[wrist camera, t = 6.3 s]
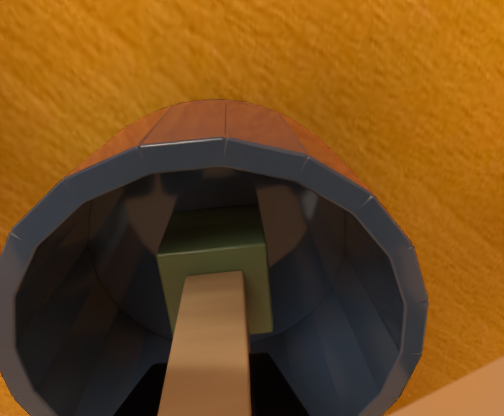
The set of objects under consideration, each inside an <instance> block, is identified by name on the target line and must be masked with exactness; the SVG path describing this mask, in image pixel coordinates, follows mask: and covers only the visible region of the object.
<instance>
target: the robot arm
mask: <svg viewBox="0 0 504 416" xmlns="http://www.w3.org/2000/svg"><path fill="white" fill-rule="evenodd" d="M249 363H250V382H251V407H252V413H253V416H310V415H309V413H308V412H307V410H306V409H305V407H304V406H303V404H302V403H301V401H300V400H299V398H298V397H297V395H296V394H295V392H294V391H293V389H292V388H291V386H290V385H289V383H288V382H287V380H286V379H285V377H284V375H283V374H282V372H281V371H280V369H279V368H278V366H277V365H276V363H275V362H274V360H273V359H272V357H271V356H270V354H269V353H268V352H266V351H262V352H253V353H250V354H249ZM167 365H168V362H162V363H155V364H153V365H152V366H151V367H150V368H149V369H148V371H147V372H146V373H145V374H144V376H143V377H142V378H141V380H140V381H139V382H138V384H137V385H136V386H135V387H134V389H133V390H132V391H131V393H130V394H129V395H128V397H127V398H126V399H125V400H124V402H123V403H122V404H121V406H120V407H119V408H118V410H117V411H116V412H115V413H114V415H113V416H157V415H158V410H159V405H160V400H161V395H162V390H163V385H164V380H165V375H166V370H167Z"/></svg>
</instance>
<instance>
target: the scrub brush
mask: <svg viewBox="0 0 504 416" xmlns="http://www.w3.org/2000/svg"><path fill="white" fill-rule="evenodd" d="M156 260H157V264H158V269H159V274H160V279H161V284H162V288H163V293H164V298H165V303H166V308H167V313H168V317H169V322H170V327H171V332H172V337H173V341H172V346H171V351H170V355H169V360H168V365H167V370H166V375H165V380H164V385H163V390H162V395H161V400H160V405H159V410H158V415H157V416H253V413H252V407H251V382H250V363H249V354H250V353H251V345H250V335H252V334H261V333H271V332H273V329H274V326H273V313H272V301H271V289H270V277H269V265H268V252H267V243H266V238H265V233H264V228H263V222H262V217H261V212H260V207H259V205H247V206H237V207H227V208H217V209H207V210H198V211H188V212H178V213H172V214H171V217H170V219H169V222H168V225H167V227H166V230H165V233H164V235H163V238H162V241H161V243H160V246H159V249H158V251H157V254H156Z"/></svg>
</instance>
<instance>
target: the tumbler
mask: <svg viewBox="0 0 504 416" xmlns="http://www.w3.org/2000/svg"><path fill="white" fill-rule="evenodd" d="M247 205H259V207H260V212H261V217H262V222H263V228H264V233H265V238H266V243H267V252H268V265H269V277H270V289H271V301H272V313H273V326H274V329H273V332H271V333H261V334H252V335H250V345H251V353H253V352H262V351H266V352H268V353H269V354H270V356H271V357H272V359H273V360H274V362H275V363H276V365H277V366H278V368H279V369H280V371H281V372H282V374H283V375H284V377H285V379H286V380H287V382H288V383H289V385H290V386H291V388H292V389H293V391H294V392H295V394H296V395H297V397H298V398H299V400H300V401H301V403H302V404H303V406H304V407H305V409H306V410H307V412H308V413H309V415H310V416H382V415H383V414H384V413H385V412H386V411H387V410H388V409H389V408H390V407H391V406H392V405H393V404H394V403H395V402H396V401H397V398H399V397H400V395H401V393H402V392H403V390H404V388H405V386H406V384H407V382H408V380H409V378H410V376H411V374H412V373H413V371H414V369H415V367H416V365H417V363H418V361H419V359H420V357H421V355H422V351H423V344H424V336H425V328H426V320H427V313H428V305H429V302H428V294H427V291H426V287H425V284H424V280H423V277H422V273H421V269H420V266H419V262H418V259H417V255H416V251H415V248H414V246H413V245H412V242H411V240H410V239H409V238H408V237H407V235H406V234H405V233H404V231H403V230H402V229H401V228H400V226H399V225H398V224H397V223H396V221H395V220H394V219H393V218H392V216H391V215H390V214H389V213H388V211H387V210H386V209H385V207H384V206H383V205H382V204H381V202H380V201H379V200H378V199H377V197H376V196H375V195H374V194H373V193H372V192H371V191H370V190H369V189H368V188H367V187H366V185H365V184H364V183H363V182H362V181H361V180H360V179H359V178H358V177H357V176H356V175H355V174H354V173H353V172H352V171H351V170H350V169H349V168H348V167H347V166H346V165H345V164H344V163H343V161H342V160H341V159H340V158H339V157H338V156H337V155H336V154H335V153H334V152H333V151H332V150H331V149H330V148H329V147H328V146H327V145H326V144H325V143H324V142H323V141H322V140H321V139H320V138H319V137H318V136H316V135H314V134H313V133H311V132H310V131H309V130H307V129H306V128H305V127H303V126H302V125H301V124H299V123H298V122H296V121H294V120H292V119H290V118H289V117H287V116H285V115H283V114H281V113H279V112H276V111H274V110H271V109H268V108H266V107H263V106H259V105H255V104H251V103H247V102H243V101H234V100H224V99H214V100H197V101H191V102H185V103H179V104H176V105H173V106H170V107H166V108H163V109H160V110H158V111H156V112H153V113H151V114H149V115H147V116H145V117H143V118H141V119H139V120H138V121H136V122H134V123H132V124H130V125H128V126H126V127H125V128H123V129H122V130H121V131H119V132H118V133H117V134H116V135H115V136H113V137H112V138H111V139H110V140H109V141H107V142H106V143H105V144H104V145H102V146H101V147H100V148H99V149H98V150H96V151H95V152H94V153H93V154H92V155H90V156H89V157H88V158H87V159H85V160H84V161H83V162H82V163H81V164H79V165H78V166H77V167H76V168H75V169H73V170H72V171H71V172H70V173H68V174H67V175H66V176H65V177H64V178H62V179H61V180H60V181H59V182H58V183H57V184H56V185H55V186H54V187H53V188H52V189H51V190H50V191H49V192H48V193H47V194H46V195H45V196H44V197H43V198H42V199H41V200H40V201H39V202H38V203H37V204H36V205H35V206H34V207H33V208H32V209H31V210H30V211H29V212H28V213H27V214H26V215H25V216H24V217H23V218H22V219H21V220H20V221H18V222H17V223H16V224H15V225H14V226H13V227H12V229H11V231H10V232H9V234H8V237H7V239H6V242H5V244H4V247H3V249H2V252H1V254H0V372H1V374H2V376H3V378H4V380H5V383H6V385H7V387H8V389H9V391H10V393H11V395H12V396H13V397H14V399H15V401H16V402H17V403H18V404H19V405H20V406H21V407H22V408H23V409H24V410H25V411H26V412H27V413H28V414H29V415H30V416H113V415H114V413H115V412H116V411H117V410H118V408H119V407H120V406H121V404H122V403H123V402H124V400H125V399H126V398H127V397H128V395H129V394H130V393H131V391H132V390H133V389H134V387H135V386H136V385H137V384H138V382H139V381H140V380H141V378H142V377H143V376H144V374H145V373H146V372H147V371H148V369H149V368H150V367H151V366H152V365H153V364H155V363H162V362H168V360H169V355H170V351H171V346H172V341H173V337H172V332H171V327H170V322H169V317H168V313H167V308H166V303H165V298H164V293H163V288H162V284H161V279H160V274H159V269H158V264H157V260H156V254H157V251H158V249H159V246H160V243H161V241H162V238H163V235H164V233H165V230H166V227H167V225H168V222H169V219H170V217H171V214H172V213H178V212H188V211H198V210H207V209H217V208H227V207H237V206H247Z"/></svg>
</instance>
